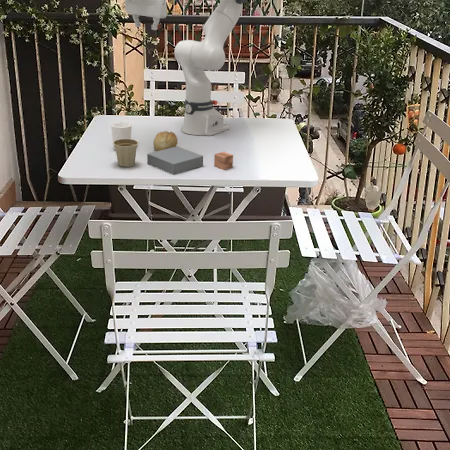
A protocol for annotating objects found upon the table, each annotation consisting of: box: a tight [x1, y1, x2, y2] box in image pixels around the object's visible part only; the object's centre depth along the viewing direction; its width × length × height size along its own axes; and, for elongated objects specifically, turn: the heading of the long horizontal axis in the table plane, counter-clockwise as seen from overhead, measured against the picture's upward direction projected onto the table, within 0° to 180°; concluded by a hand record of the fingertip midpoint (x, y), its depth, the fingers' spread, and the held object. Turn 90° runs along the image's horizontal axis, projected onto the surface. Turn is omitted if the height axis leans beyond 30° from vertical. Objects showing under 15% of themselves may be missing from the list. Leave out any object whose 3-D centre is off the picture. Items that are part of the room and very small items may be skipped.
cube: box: [213, 151, 234, 171], centre depth 223 cm, size 5×5×5 cm
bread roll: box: [152, 131, 179, 152], centre depth 236 cm, size 10×15×8 cm, turn 3°
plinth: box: [146, 145, 204, 175], centre depth 223 cm, size 15×15×4 cm
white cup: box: [111, 121, 132, 151], centre depth 236 cm, size 8×8×10 cm
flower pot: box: [112, 138, 139, 168], centre depth 220 cm, size 9×9×9 cm
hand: (146, 28), depth 225 cm, fingers open, 8 cm apart
